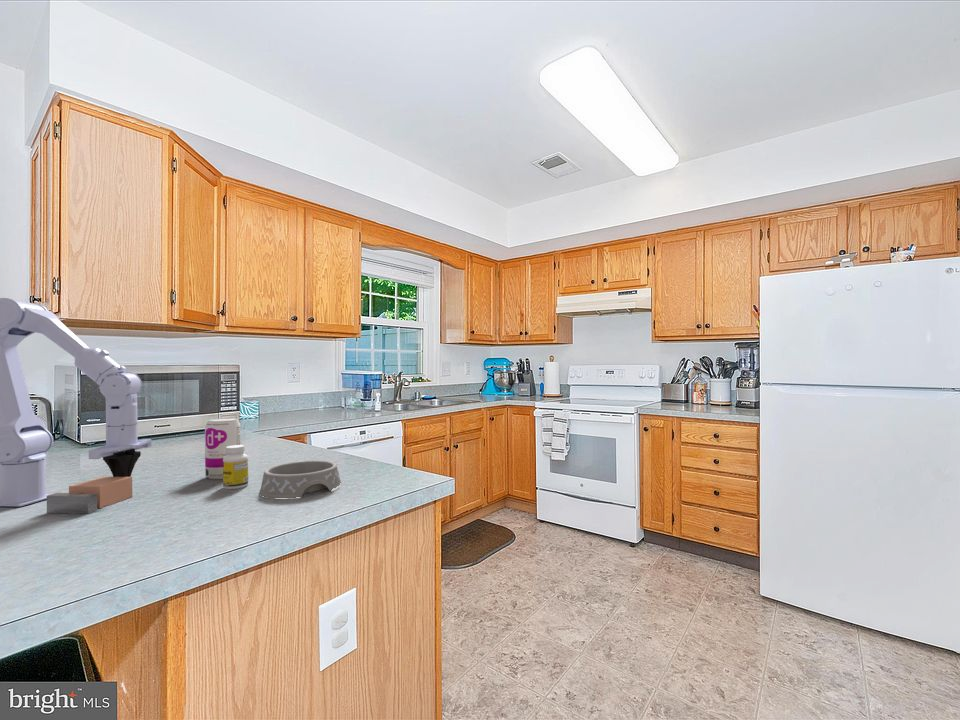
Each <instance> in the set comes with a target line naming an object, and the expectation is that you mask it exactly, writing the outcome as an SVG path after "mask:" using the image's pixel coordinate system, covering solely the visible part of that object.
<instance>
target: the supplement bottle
mask: <svg viewBox="0 0 960 720" xmlns="http://www.w3.org/2000/svg"><path fill="white" fill-rule="evenodd" d="M245 450H246V447H245V445H244V444H241V445H232V446H227V447H226V453H227V456H225V457H224V458H223V479H222V481H223V482H222V485H223V487H222V488H223V489H226V490H238V489H241V488H242V489H243V488H245V487H247V486H249V456H248V455H247V454H246V453H245Z"/></svg>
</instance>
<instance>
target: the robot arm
mask: <svg viewBox="0 0 960 720" xmlns="http://www.w3.org/2000/svg"><path fill="white" fill-rule="evenodd" d="M34 334H42V335H43V336H45V337H46V338H47V339H49V340H50V341H51V342H53V343H54V344H56V345H57V346H58V347H60V348H61V349H63V350H64V351H65V352H66V353H68V354H69V355H70V356H72V357H73V358H74V367H76V368H78V370H79V371H81V372H82V373H83V374H84V375H86V376H87V377H88V378H90V379H91V380H92V381H93V382H94V383H95V384H97V385H98V389H99V391H100V393H101V394H102V396H104V398H105V445H103V446H99V447H96V448H93V449H89V450H88V460H99V459H102V460H103V461H104V462H105V464H106V465H107V467H108V469H109V470H110V472H111V474H112V477H132V473H133V470H134V468H135V466H136V463H137V462H138V460H139V458H140V457H141V456H142V455H141V454H142V452H141V451H140V450H141V449H144V448H145V449H147V448H152V439H151V438H142V439H138V438H139V437H138V425H139V424H138V393H140V391H141V389H142V387H143V382H142V379H141V378H140V377H139V376H138V374H137V373H136V372H132V371H126V370H127V367H125V365H120V364H119V363H117V362H116V361H115V360H113V358H112V357H110V354H111V353H110V352H109V351H107V350H106V349H100V348H99V347H89V346H88V345H87V344H86V343H85V342H84V341H82V339H80V338H79V337H78V336H77V335H76V334H75V333H74V332H73V331H72V330H71V329H69V328H68V327H67V325H65V324H64V323H63V322H62V321H61V320H60V319H59V318H58V316H57V315H56V314H55V313H53V312H52V311H49V310H48V309H47V308H46V306H44V305H42V304H41V303H35V302H27V301H20V300H15V299H13V298H9V297H8V298H7V297H0V507H16V508H17V507H23V506H27V505H30V504H34V503H38V502H41V501H45V500H47V495H51V494H52V493H47V479H46V477H47V476H46V475H47V469H46V467H47V463H46V461H47V460H46V459H47V457H48V455H47V453H48V452H49V451H50V450H51V449H52V447H53V445H54V436H53V435H52V433H51V432H50V431H49V430H48V429H47V427H46V425H45V424H46V423H45V422H44V420H43V419H41V418H39V416H37V415H36V414H34V409H33V405H32V401H31V398H30V397H31V396H30V394H29V390H28V389H29V388H28V385H27V382H26V378H25V373H24V370H23V367H22V363H21V358H20V355H19V352H18V351H19V350H18V345H19V344H21V342H22V341H24V339H26V338H28V337H29V336H31V335H34ZM138 450H139V451H138Z"/></svg>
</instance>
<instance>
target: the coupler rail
mask: <svg viewBox="0 0 960 720" xmlns="http://www.w3.org/2000/svg"><path fill="white" fill-rule="evenodd" d="M50 494H51V495H47V499H46V514H72V513H82V514H81V515H83V513H84V515H89V514H91V512H92V513H94V512H97V511H98V508H97V493H69V492H55V493H50ZM88 513H89V514H88Z"/></svg>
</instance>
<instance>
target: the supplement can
mask: <svg viewBox="0 0 960 720" xmlns="http://www.w3.org/2000/svg"><path fill="white" fill-rule="evenodd" d="M241 429H242V427H241V422H240V420H239V419H238V418H237V417H236V418H235V417H224V418H212V419H208V420H207V422H206V424H205V425H204V459H205V460H204V464H205V465H204V469H205V470H204V473H205V474H204V475H205V477H207V478H208V479H210V480H223V458H224V457H225V456H227V453H226V447H227V446H232V445H242V444H241V443H242V439H241V437H242V436H241V434H242V433H241Z"/></svg>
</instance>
